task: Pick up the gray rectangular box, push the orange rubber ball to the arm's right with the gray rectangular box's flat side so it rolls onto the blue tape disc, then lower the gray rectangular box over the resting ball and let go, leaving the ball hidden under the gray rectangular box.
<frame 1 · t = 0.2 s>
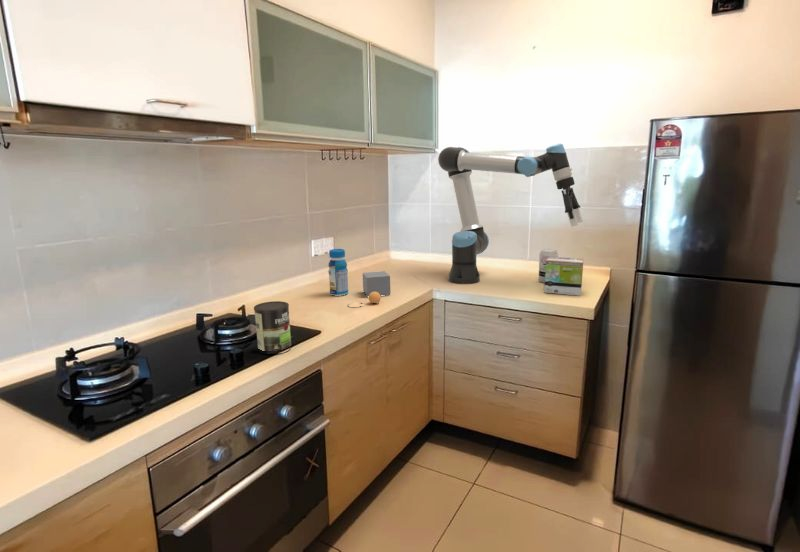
hand: (577, 224, 208), 28 cm above the worktop, tool tilted 20°, fingers open, 13 cm apart
white carton: (547, 282, 220), on the worktop
disc: (355, 305, 189), on the worktop
gray rectangular box: (376, 293, 206), on the worktop
beverage bottle: (339, 294, 207), on the worktop
coffee can: (275, 349, 144), on the worktop
tea box: (562, 292, 202), on the worktop
ball: (374, 297, 190), on the worktop
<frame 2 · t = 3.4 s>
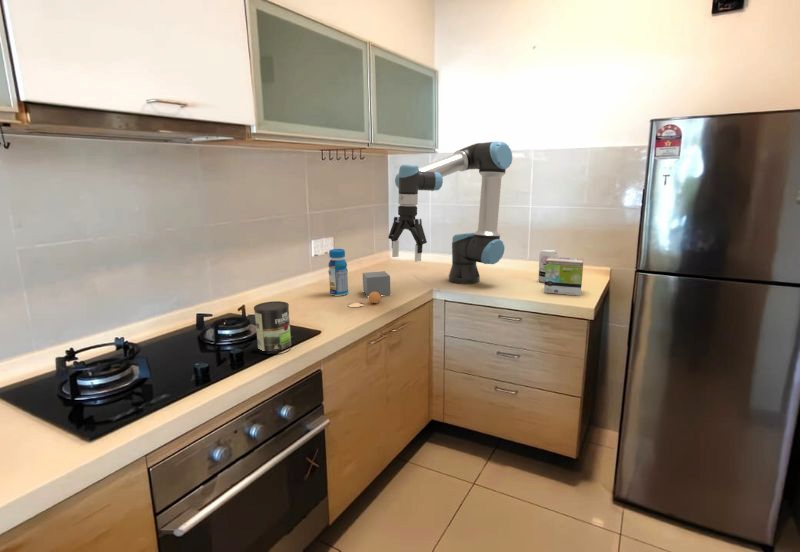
hand: (406, 259, 185), 19 cm above the worktop, tool pointing down, fingers open, 13 cm apart
nothing on the worktop moved.
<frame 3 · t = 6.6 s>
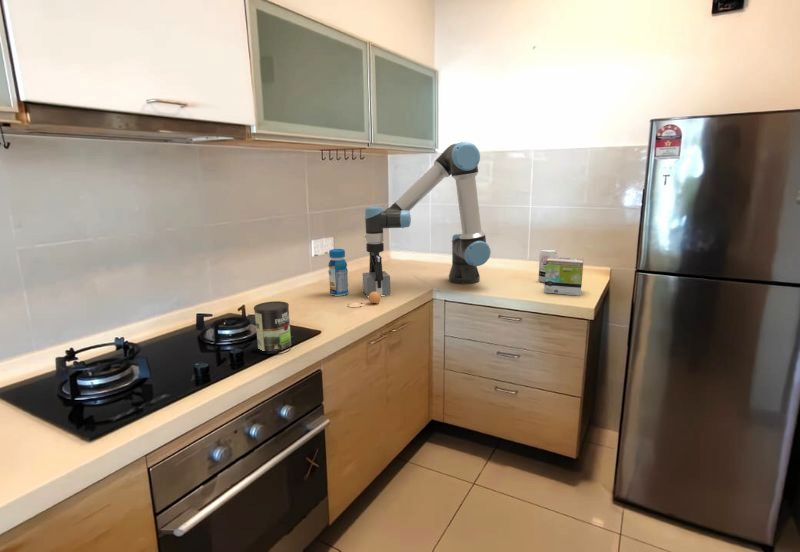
hand: (376, 291, 206), 1 cm above the worktop, tool pointing down, fingers closed on gray rectangular box, 10 cm apart
gray rectangular box: (376, 293, 206), on the worktop, touching gripper
everything else where it was.
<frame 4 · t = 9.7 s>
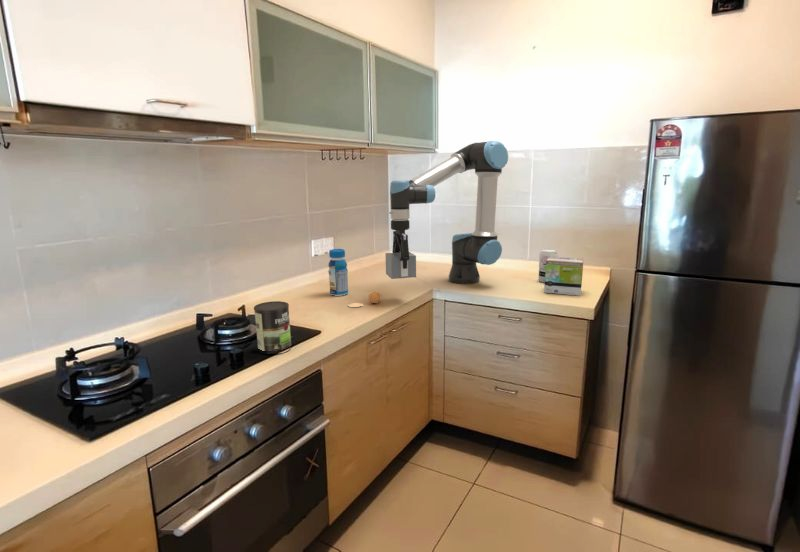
hand: (400, 273, 191), 12 cm above the worktop, tool pointing down, fingers closed on gray rectangular box, 10 cm apart
gray rectangular box: (400, 275, 191), point 11 cm above the worktop, touching gripper
everything else where it was.
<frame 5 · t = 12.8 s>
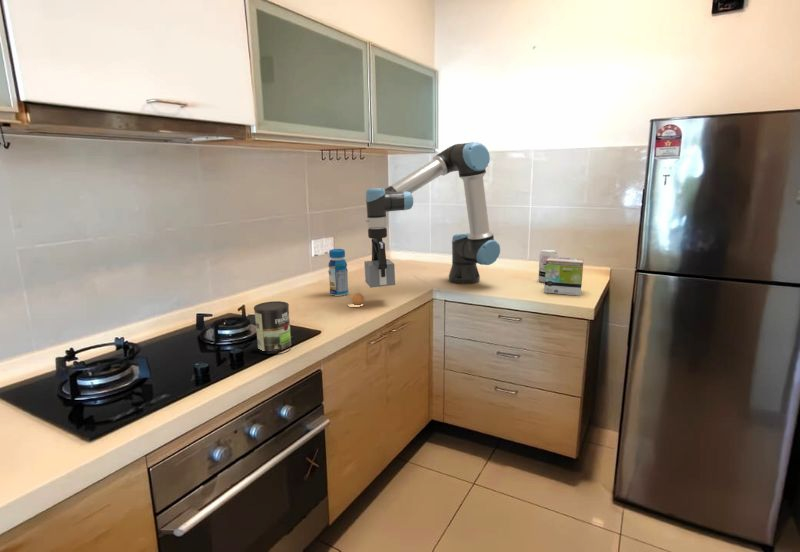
hand: (380, 281, 189), 9 cm above the worktop, tool pointing down, fingers closed on gray rectangular box, 10 cm apart
gray rectangular box: (380, 283, 190), point 8 cm above the worktop, touching gripper
ball: (357, 299, 188), on the worktop
everything else where it was.
when the fingers open (1 cm above the worktop, at t = 18.0 s): gray rectangular box stays where it is, on the worktop.
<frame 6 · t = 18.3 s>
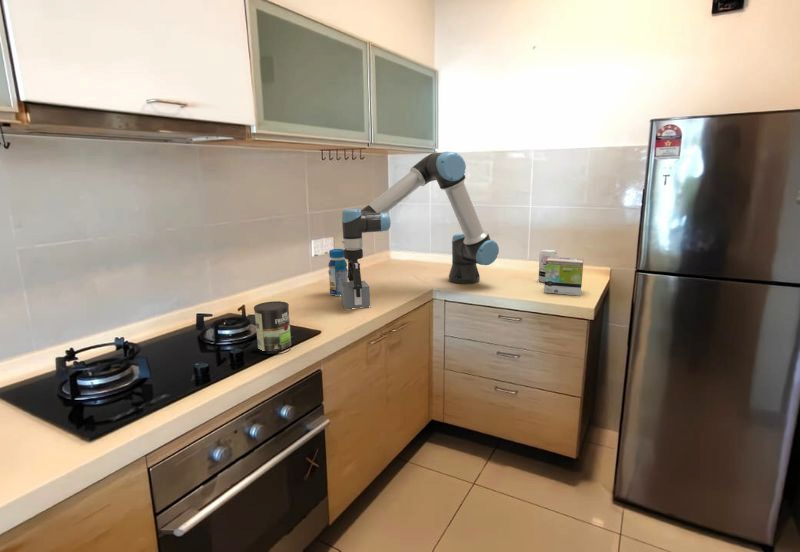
hand: (355, 300, 188), 2 cm above the worktop, tool pointing down, fingers open, 13 cm apart
gray rectangular box: (355, 305, 189), on the worktop
everything else where it was.
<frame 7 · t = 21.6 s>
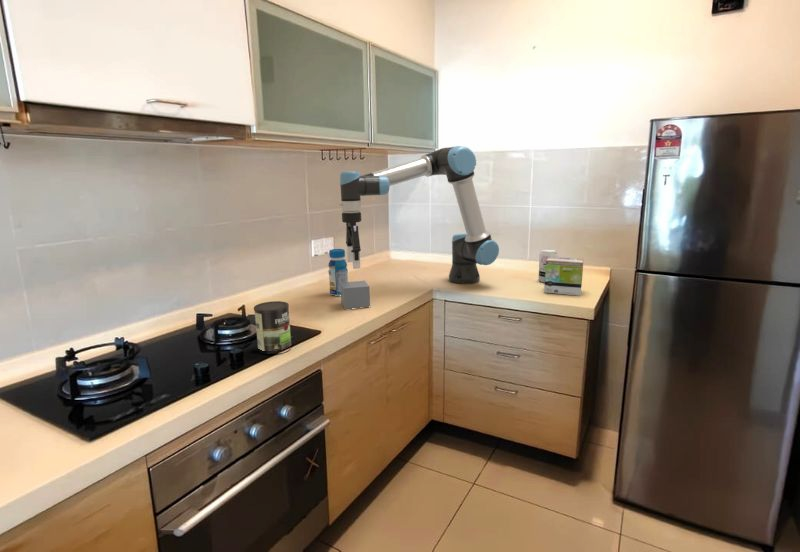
hand: (353, 265, 185), 17 cm above the worktop, tool pointing down, fingers open, 13 cm apart
nothing on the worktop moved.
at the end: ball 1.0 cm from the gray rectangular box (horizontally); gray rectangular box on the worktop; ball moved 7.1 cm from its start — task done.
